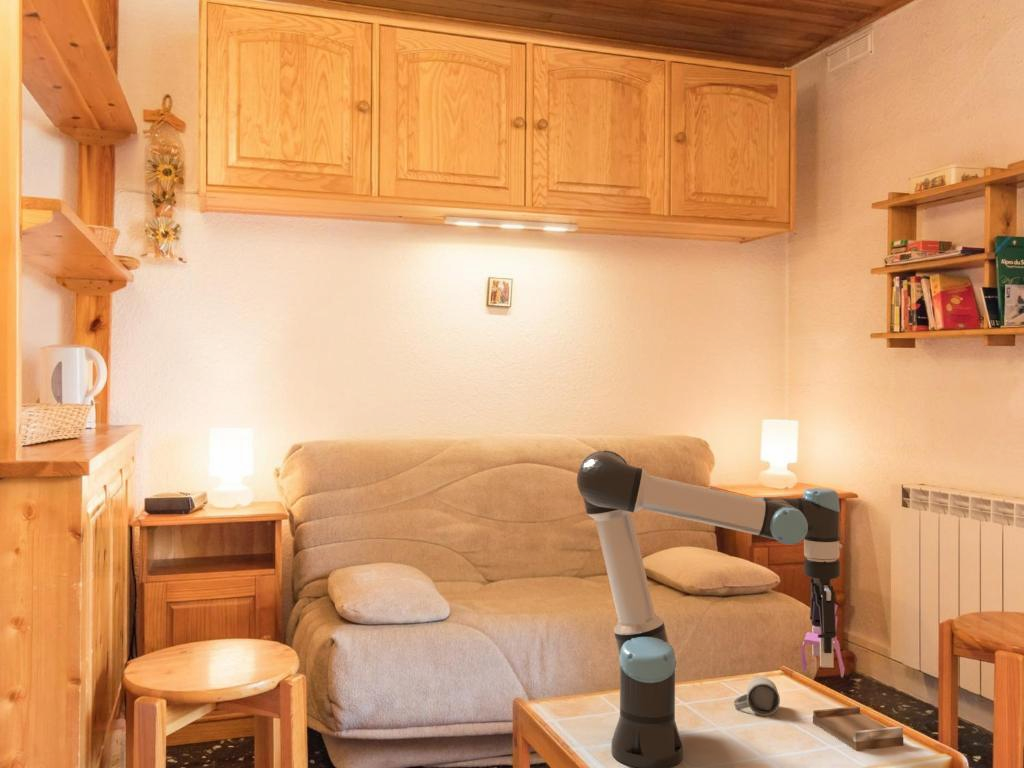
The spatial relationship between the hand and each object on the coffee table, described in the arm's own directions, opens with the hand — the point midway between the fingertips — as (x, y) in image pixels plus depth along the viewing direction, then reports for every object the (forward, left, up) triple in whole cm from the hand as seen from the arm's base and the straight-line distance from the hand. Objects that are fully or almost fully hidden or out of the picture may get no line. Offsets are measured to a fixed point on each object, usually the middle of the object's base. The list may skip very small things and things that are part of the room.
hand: (822, 660), depth 195 cm
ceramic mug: (-5, +20, -18) cm, 27 cm away
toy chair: (0, 0, -2) cm, 2 cm away
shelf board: (+10, +1, -18) cm, 20 cm away
